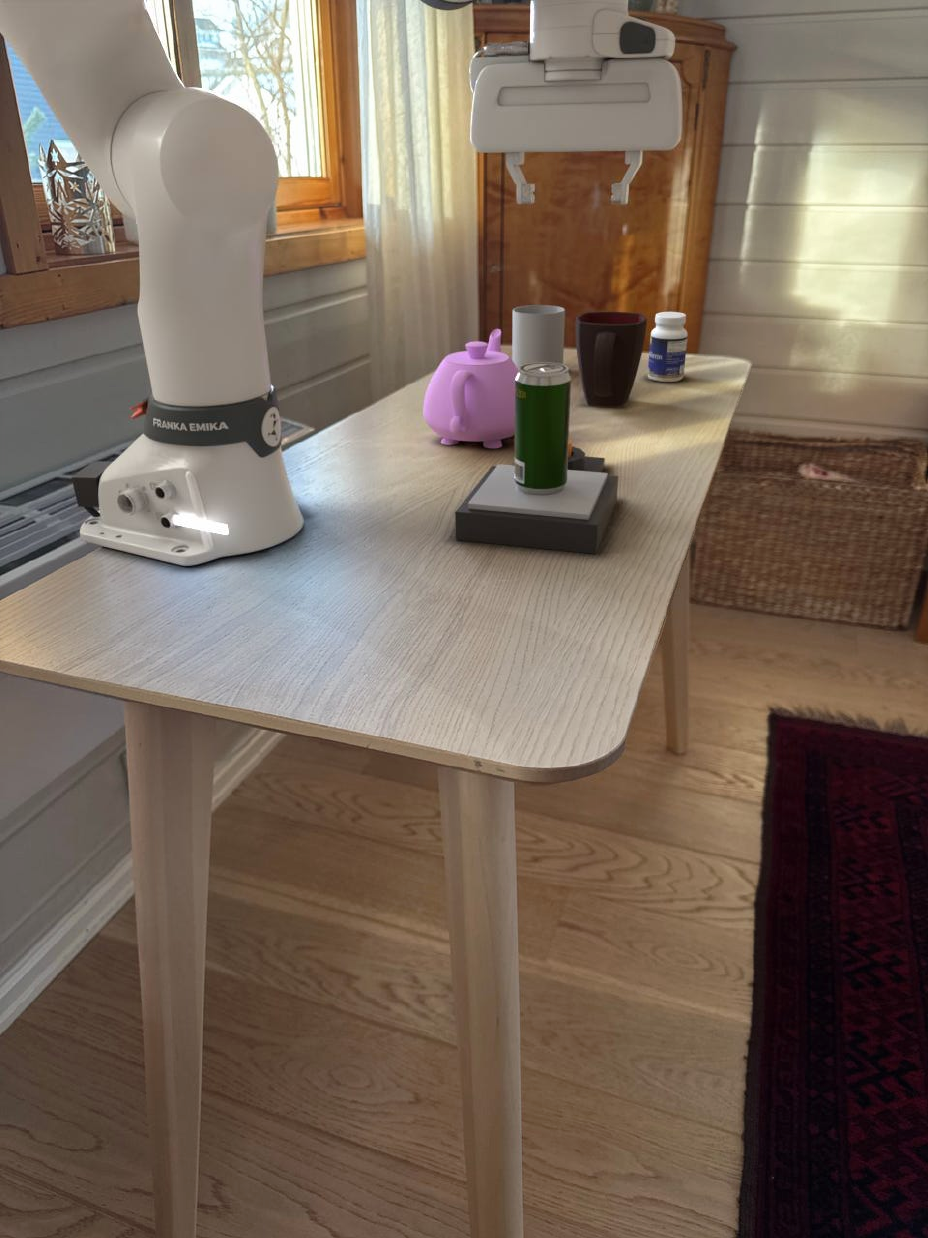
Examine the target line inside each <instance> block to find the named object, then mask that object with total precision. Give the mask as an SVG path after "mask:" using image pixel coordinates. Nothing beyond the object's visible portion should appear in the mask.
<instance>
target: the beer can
mask: <svg viewBox="0 0 928 1238" xmlns="http://www.w3.org/2000/svg"><path fill="white" fill-rule="evenodd" d="M569 371H570V367H569V366H568V365H566V364H564V363H563V364H559V363H551V362H537V363H528V364H524V365H521V366H519V367H518V374H517V376H516V378H515V435H514V442H513V443H514V449H513V451H514V453H513V457H514V458H513V460H514V462H513V465H514V481H515V483H516V485H517V488H518V490H520V491H521V492H524V493H527V494H532V495H550V494H555V493H558V492H560V491H562V490H563V489H564V486H565V484H566V482H567V472H568V446H569V439H570V419H571V394H572V393H571V391H572V377H571V374H570V372H569Z"/></svg>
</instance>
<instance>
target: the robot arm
mask: <svg viewBox="0 0 928 1238" xmlns="http://www.w3.org/2000/svg"><path fill="white" fill-rule="evenodd" d="M420 1H421V2H422V3H423V4H425V5H426V6H428V7H431V8H433V9H436V10H439V11H457V10H460V9H463V8H465V7H467V6H469V5H471V4H473V3H475V2H477V0H420ZM529 16H530V20H529V21H530V23H529V40H525V41H512V42H506V43H499V42H489V43H486V44H484V45H483V48H481V49H479V50H478V51H476V52H475V54H473V56H472V58H471V60H470V63H469V86H470V90H471V92H472V94H473V98H472V103H471V104H472V105H471V112H470V113H471V115H470V130H469V131H470V132H469V135H470V137H469V139H470V144H471V145H472V146H473V148H474V149H475V151H476V152H477V153H480V154H481V153H482V154H483V153H487V154H489V153H491V154H493V153H505V167H506V169H507V171H508V173H509V175H510V177H511V179H512V181H513V183H514V184H515V185H516V204H517V205H532V204H534V203H535V191H536V183H528V182H527V180H526V178H525V176H524V173H523V171H522V170H521V167H520V166H522V165H525V153H552V152H553V153H555V152H556V153H559V152H560V153H561V152H563V153H564V152H565V153H566V152H625V154H624V155H625V156H624V164H625V165H630V166H629V167H628V169H627V171H626V172H625V174H624V176H623V178H622V180H621V182H618V183H617V182H616V183H612V184H611V189H610V190H611V194H612V195H611V196H610V205H627V204H628V202H629V193H630V184H631V183H632V181H633V180H634V178H635V176H636V175H637V172H639V169H640V168H641V166H642V165H643V155H644V154H643V153H644V152H645V151H672V150H674V149H675V148H676V147H677V145H678V144H679V143H680V142H681V140H682V133H683V91H682V90H683V89H682V82H681V77H680V73H679V71H678V69H677V67H676V66H675V65H673V63H672V62H670V61H669V59H671V58H672V57H673V55H674V53H675V48H676V36H675V35H674V33H673V32H672V30H670V29H668V28H667V27H664V26H661V25H659V24H655V23H652V22H650V21H649V20H647V19H645V18H643V17H639V16H637V17H634V16H630V13H629V0H530V15H529ZM0 34H1V35H2V37H3V39H4V40H5V41H6V42H7V44H8V45H9V47H10V48H11V49H12V51H13V52H14V53H15V55H16V56H17V57H18V59H19V61H20V62H21V63H22V65H23V66H24V68H25V70H26V71H27V72H28V74H29V76H30V77H31V79H32V80H33V82H34V83H35V85H36V87H37V88H38V90H39V91H40V93H41V95H42V97H43V99H44V100H45V102H46V104H47V106H48V107H49V108H50V110H51V112H52V113H53V115H54V116H55V119H56V120H57V122H58V123H59V125H60V127H61V128H62V130H63V132H64V133H65V135H66V136H67V138H68V139H69V140H70V143H71V144H72V146H73V147H74V148H75V150H76V152H77V154H78V155H79V157H80V158H81V159H82V161H83V163H84V164H85V166H86V167H87V168H88V170H89V172H90V173H91V175H92V176H93V178H94V179H95V180H96V182H97V184H99V186H100V189H101V190H102V191H103V193H104V195H105V196H106V198H108V200H109V201H110V203H111V204H112V205H113V206H114V207H115V208H116V209H117V210H118V211H119V212H120V213H121V214H122V215H123V216H125V217H126V218H128V219H129V220H131V221H132V222H133V223H136V228H137V238H138V252H139V256H138V257H139V299H138V301H137V302H138V303H137V317H138V323H139V329H140V334H141V337H142V339H141V340H142V345H143V351H144V356H145V361H146V366H147V371H148V377H149V383H150V387H151V394H150V395H148V396H147V397H146V398H143V400H142V402H140V403H137V404H135V405H133V406H131V407H129V410H130V411H133V410H134V411H135V410H136V409H137V410H136V411H135V412H134V413H133V414H132V415H131V416H130V418H131V419H132V420H135V419H138V418H140V417H141V416H145V417H144V422H143V427H142V434H141V435H140V436H139V437H137V438H136V439H135V441H133V442H132V443H131V444H130V445H129V446H128V447H127V448H126V449H125V450H124V451H123V452H122V453H121V454H120V455H118V456H117V458H116V459H114V461H96V460H95V461H92V462H90V463H89V464H88V465H87V466H85V467H84V468H82V469H80V471H78V472H76V473H75V474H74V475H72V476H71V478H70V479H71V482H72V487H73V491H74V495H75V499H76V503H77V506H78V508H84V509H85V510H86V511H87V512H88V513H89V515H90V516H89V517H88V518H87V519H86V520H85V521H84V522H83V523H82V525H81V526H80V528H79V537H80V538H79V539H80V541H81V542H85V543H89V544H92V545H96V546H101V547H105V548H109V549H111V550H112V549H113V550H116V551H121V552H125V553H128V554H132V555H133V554H134V555H138V556H142V557H146V558H149V559H152V560H153V559H154V560H158V561H161V562H165V563H166V562H167V563H171V564H174V565H177V566H178V565H179V566H184V567H187V566H188V567H189V566H190V567H191V566H195V565H200V564H204V563H207V562H210V561H213V560H217V559H220V558H225V557H230V556H237V555H243V554H244V555H245V554H249V553H253V552H259V551H262V550H265V549H269V548H271V547H274V546H277V545H280V544H282V543H284V542H286V541H288V540H290V539H291V538H293V537H294V536H295V535H297V534H299V532H300V531H301V530H302V528H303V527H304V523H305V519H304V517H303V514H302V511H300V510H301V509H300V508H299V505H298V503H297V500H296V498H295V495H294V491H293V489H292V486H291V482H290V479H289V475H288V472H287V468H286V464H285V460H284V459H285V458H284V456H283V449H282V442H283V441H282V435H283V434H282V421H281V415H280V414H281V413H280V407H279V406H280V405H279V399H278V394H277V389H276V387H275V386H274V385H273V384H272V380H271V373H270V363H269V354H268V347H267V337H266V329H265V319H264V308H263V307H264V306H263V293H264V292H263V290H264V289H263V288H264V287H263V286H264V268H265V256H266V242H267V241H266V240H267V225H268V216H269V212H270V210H271V208H272V206H273V204H274V202H275V199H276V196H277V192H278V186H279V178H280V177H279V176H280V170H279V162H278V157H277V152H276V149H275V146H274V144H273V141H272V139H271V138H270V135H269V134H268V132H267V130H266V129H265V127H264V126H263V125H262V124H261V122H260V121H259V120H258V119H257V118H256V116H254V115H253V114H252V113H251V112H250V111H249V110H247V109H246V108H244V107H243V106H241V105H239V104H238V103H237V102H235V101H234V100H232V99H230V98H228V97H226V96H224V95H222V94H220V93H218V92H216V91H213V90H210V89H207V88H201V87H186V86H185V85H184V84H183V82H182V81H181V79H180V77H179V76H178V74H177V72H176V69H175V68H174V65H173V64H172V61H171V59H170V57H169V55H168V53H167V51H166V48H165V47H164V44H163V41H162V39H161V37H160V35H159V32H158V30H157V28H156V25H155V22H154V20H153V18H152V15H151V13H150V10H149V7H148V4H147V0H0ZM482 55H484V56H482ZM480 56H482V57H480ZM96 508H98V509H99V510H97V509H96Z"/></svg>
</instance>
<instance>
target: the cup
mask: <svg viewBox="0 0 928 1238" xmlns="http://www.w3.org/2000/svg"><path fill="white" fill-rule="evenodd" d="M565 320H566V309H565V308H564V307H561V306H556V305H547V304H539V305H538V304H532V305H522V306H517V307H515V308H512V329H511V331H512V333H511V334H512V336H511V338H512V340H511V341H512V342H511V343H512V348H511V350H512V351H511V353H512V354H511V359H512V361H513V362H514V364H515V365H516V367H517V369H518V367H519V366H521V365H524V364H528V363H537V362H551V363H559V364H563V365H564V354H565V353H564V351H565V323H566V321H565Z"/></svg>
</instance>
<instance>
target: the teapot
mask: <svg viewBox="0 0 928 1238" xmlns="http://www.w3.org/2000/svg"><path fill="white" fill-rule="evenodd" d="M501 340H502V331H501V329H500V328H495V329H493V330H492V331H491V333H490V335H489V341H488V342H485V341H469V342H467V343H465V349H466V350H465V351H464V350H463V351H457V352H453V353H450V354H447V355H446V356H445V357H444V358H443V359H442V361H441V362H440V363H439V365H438V366H437V369H436V370H435V372H434V374H433V375H432V377H431V380H430V382H429V383H428V385H427V389H426V392H425V395H424V400H423V407H422V413H423V414H422V416H423V419H424V421H425V423H426V424H427V425H428V426H429V428H430V429H431V430H432V431H433V432H434V433H435V434H436V435H438V436H440V437H442V438H441V441H440V444H442V445H446V446H452V445H457V444H459V443H460V441H461V442H482V443H483V447H484V448H486V449H499V448H502V447H503V443H502V441H501V440H504V439H508V438H511V437H513V436H514V437H515V378H516V376H517V374H518V369H517V367H516V365H515V364H514V362H513V361H512V357H511V356H509V355H508V354H506V353H504V352H502V347H501Z"/></svg>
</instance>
